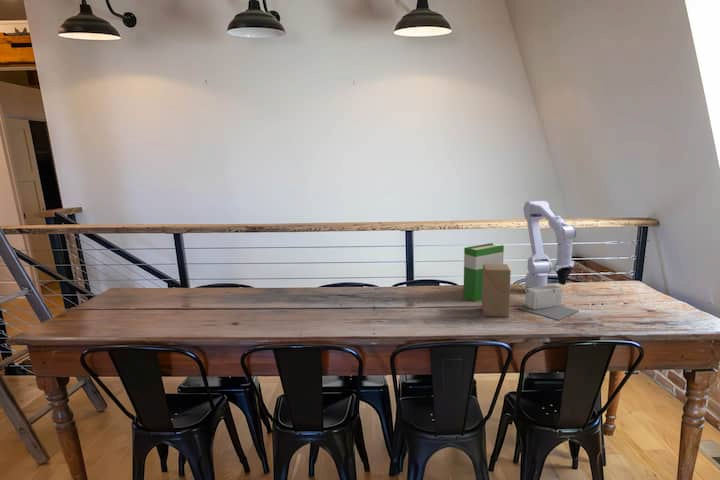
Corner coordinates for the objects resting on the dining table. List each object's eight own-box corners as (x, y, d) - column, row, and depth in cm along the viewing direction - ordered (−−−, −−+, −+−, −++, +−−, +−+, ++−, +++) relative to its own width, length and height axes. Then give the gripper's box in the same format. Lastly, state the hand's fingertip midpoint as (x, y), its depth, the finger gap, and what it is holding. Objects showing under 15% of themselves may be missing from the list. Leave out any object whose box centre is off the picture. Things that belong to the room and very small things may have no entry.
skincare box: (562, 305, 188) (534, 311, 183) (551, 301, 194) (524, 306, 189) (563, 286, 186) (535, 292, 182) (552, 283, 192) (525, 288, 187)
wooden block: (509, 317, 177) (510, 270, 174) (483, 316, 179) (485, 269, 176) (505, 308, 187) (507, 264, 183) (481, 308, 189) (482, 263, 185)
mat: (518, 309, 187) (518, 308, 186) (539, 300, 196) (539, 300, 196) (558, 320, 172) (558, 319, 172) (578, 311, 182) (579, 310, 182)
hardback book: (490, 290, 212) (491, 243, 208) (502, 294, 206) (503, 245, 202) (463, 297, 204) (464, 247, 199) (474, 301, 197) (476, 250, 193)
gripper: (564, 257, 178) (562, 289, 181) (582, 252, 187) (579, 282, 189) (548, 255, 184) (546, 285, 187) (566, 250, 193) (564, 279, 195)
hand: (562, 284), depth 188 cm, fingers closed
